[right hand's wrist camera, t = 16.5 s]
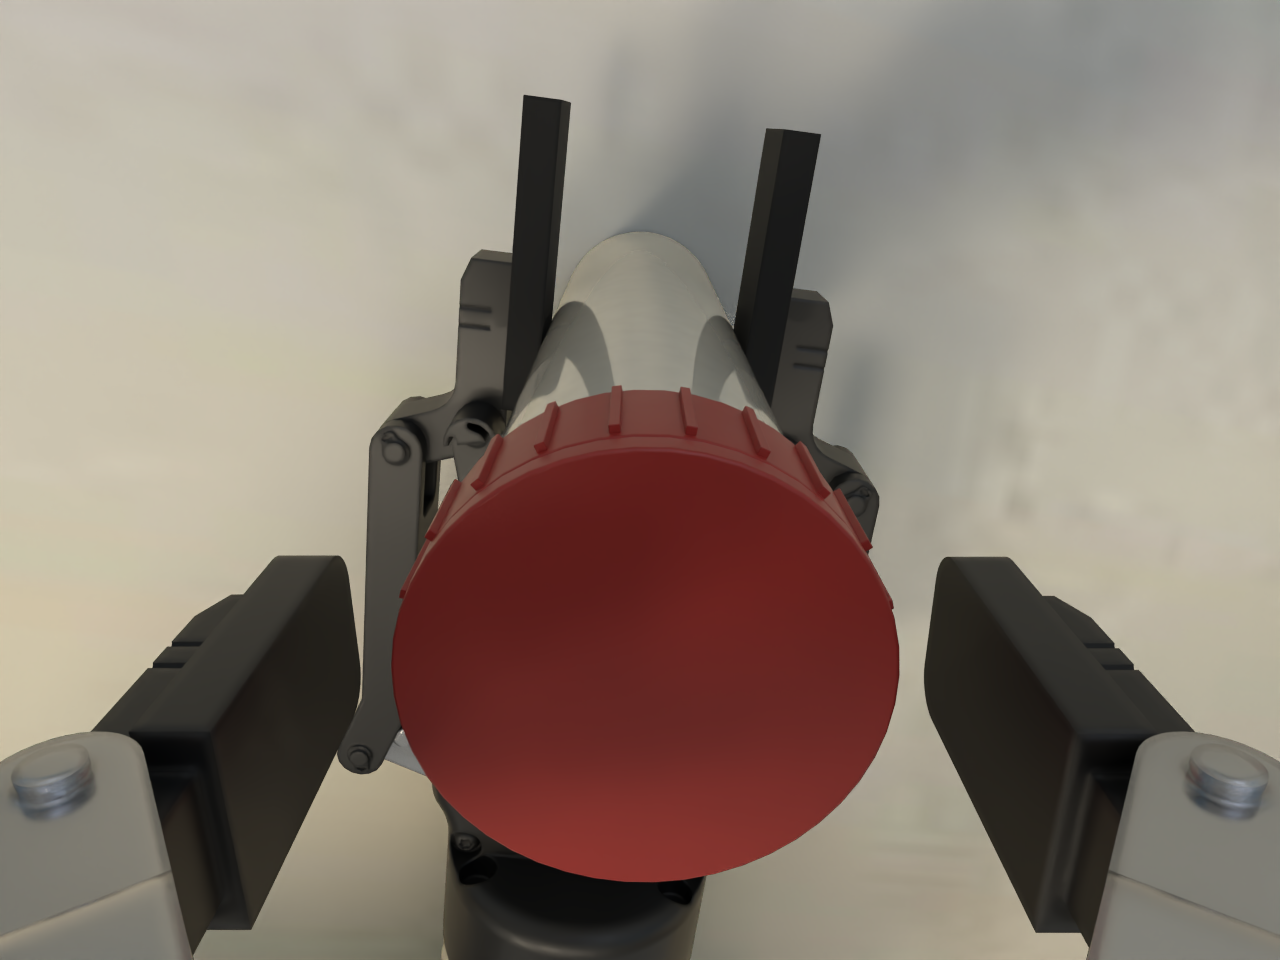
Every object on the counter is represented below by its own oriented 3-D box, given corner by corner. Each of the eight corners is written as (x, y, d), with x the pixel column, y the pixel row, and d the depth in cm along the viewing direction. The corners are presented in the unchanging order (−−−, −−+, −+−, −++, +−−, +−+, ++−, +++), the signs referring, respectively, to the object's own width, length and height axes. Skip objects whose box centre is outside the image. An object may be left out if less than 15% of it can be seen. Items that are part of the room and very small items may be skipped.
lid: (951, 578, 11) (1017, 672, 9) (654, 835, 12) (657, 961, 10) (630, 282, 9) (629, 320, 8) (339, 606, 11) (278, 703, 9)
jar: (665, 405, 28) (713, 873, 11) (538, 334, 28) (361, 713, 10) (742, 280, 27) (945, 579, 9) (611, 201, 26) (557, 363, 8)
